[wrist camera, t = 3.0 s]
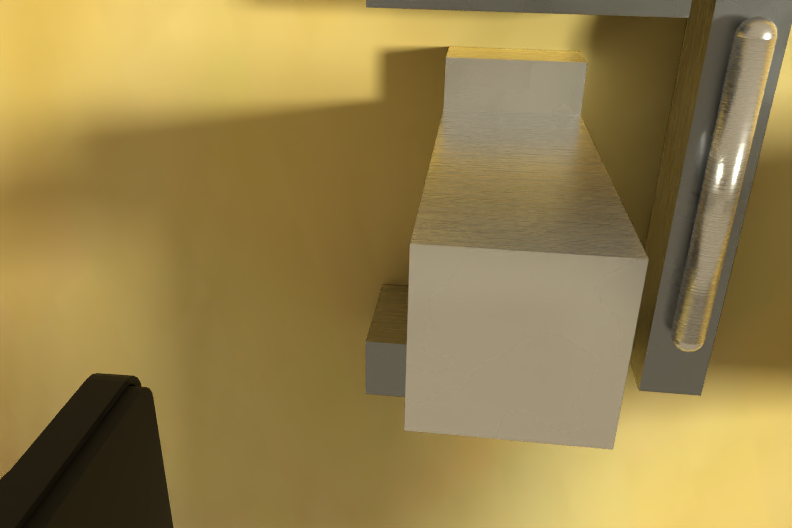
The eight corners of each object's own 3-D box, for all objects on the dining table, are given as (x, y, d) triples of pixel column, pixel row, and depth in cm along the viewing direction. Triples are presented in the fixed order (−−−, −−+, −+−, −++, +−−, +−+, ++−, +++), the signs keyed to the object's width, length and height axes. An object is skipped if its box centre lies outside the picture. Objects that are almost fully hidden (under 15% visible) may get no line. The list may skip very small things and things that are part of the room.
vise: (778, -71, 20) (840, -70, 16) (682, 354, 26) (713, 423, 23) (387, -79, 21) (366, -80, 18) (382, 331, 27) (365, 393, 24)
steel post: (579, 51, 22) (665, 173, 11) (553, 257, 25) (601, 509, 14) (449, 46, 22) (412, 159, 12) (439, 250, 26) (402, 489, 15)
